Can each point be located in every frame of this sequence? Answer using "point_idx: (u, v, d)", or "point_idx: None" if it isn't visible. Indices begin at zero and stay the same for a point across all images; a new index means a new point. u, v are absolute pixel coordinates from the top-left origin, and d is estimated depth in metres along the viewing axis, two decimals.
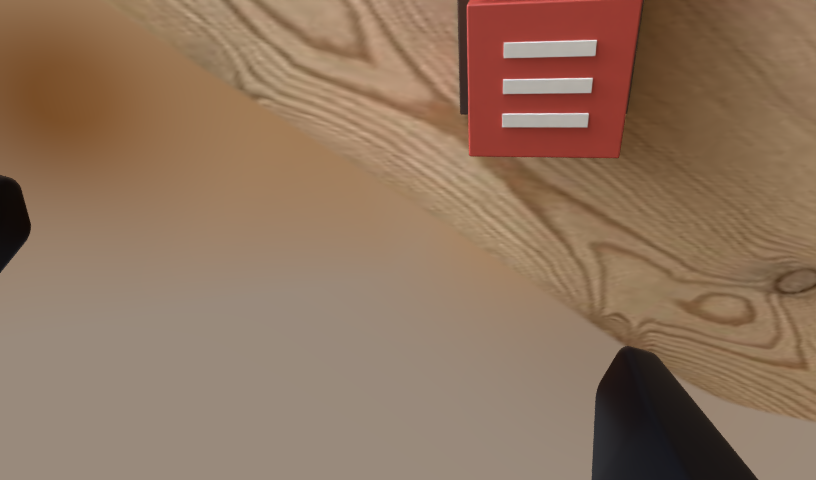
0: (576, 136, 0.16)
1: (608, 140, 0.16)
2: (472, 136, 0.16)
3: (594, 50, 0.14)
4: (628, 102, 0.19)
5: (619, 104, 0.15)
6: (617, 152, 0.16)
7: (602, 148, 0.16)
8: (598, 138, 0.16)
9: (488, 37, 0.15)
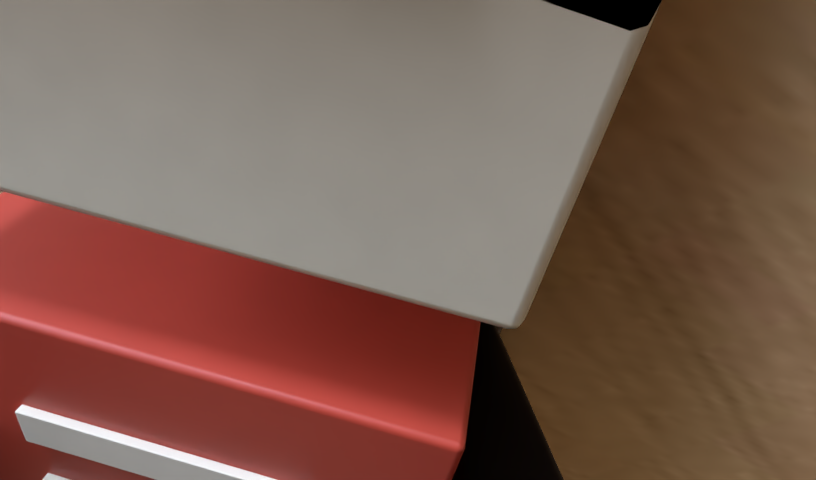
0: None
1: None
2: None
3: None
4: None
5: None
6: None
7: None
8: None
9: None
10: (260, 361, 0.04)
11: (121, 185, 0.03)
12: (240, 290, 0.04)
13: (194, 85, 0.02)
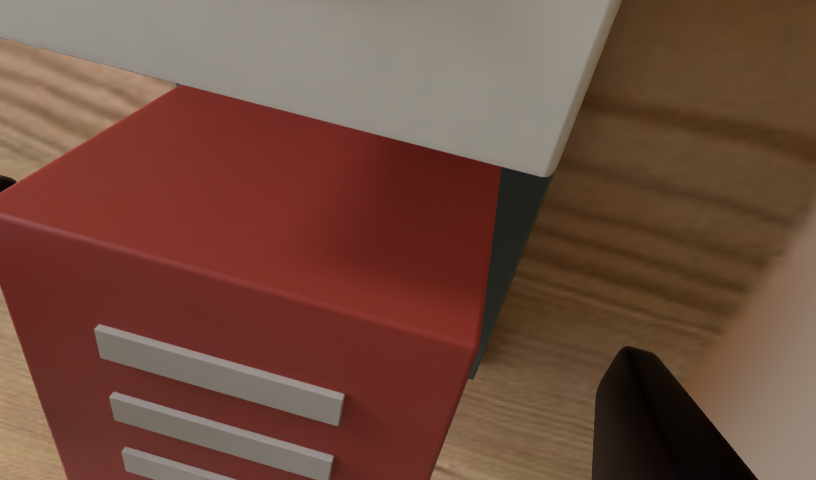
0: None
1: None
2: (66, 459, 0.07)
3: (338, 410, 0.05)
4: None
5: None
6: None
7: None
8: None
9: (55, 301, 0.05)
10: (307, 279, 0.05)
11: None
12: (285, 227, 0.05)
13: None
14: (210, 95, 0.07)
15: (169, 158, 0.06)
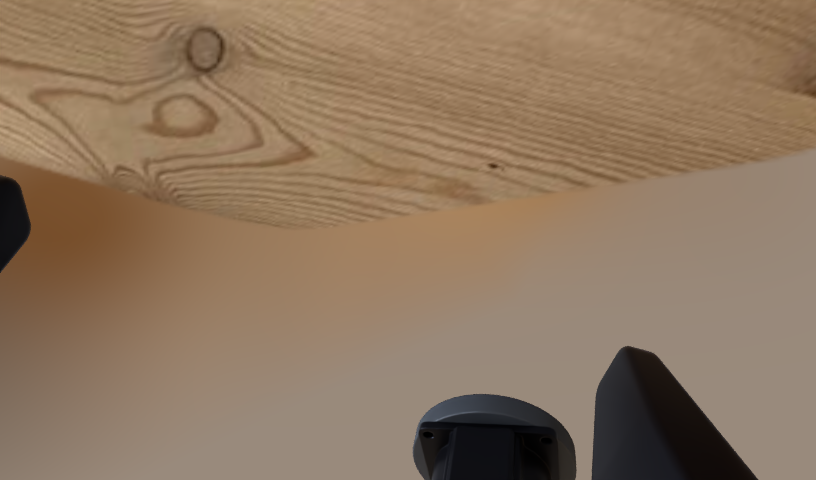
0: None
1: None
2: None
3: None
4: None
5: None
6: None
7: None
8: None
9: None
10: None
11: None
12: None
13: None
14: None
15: None
